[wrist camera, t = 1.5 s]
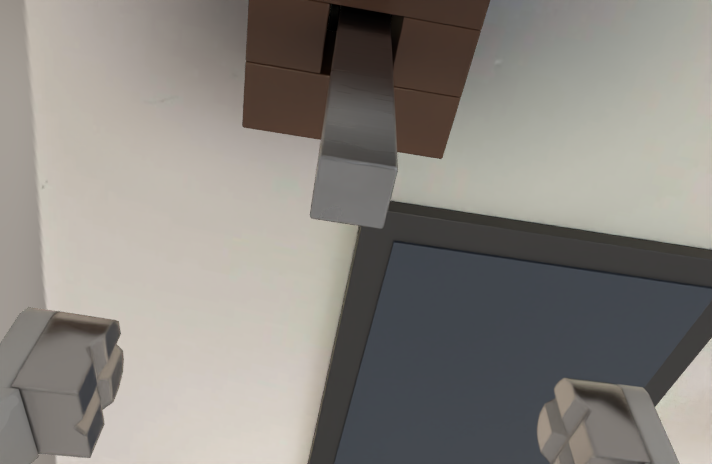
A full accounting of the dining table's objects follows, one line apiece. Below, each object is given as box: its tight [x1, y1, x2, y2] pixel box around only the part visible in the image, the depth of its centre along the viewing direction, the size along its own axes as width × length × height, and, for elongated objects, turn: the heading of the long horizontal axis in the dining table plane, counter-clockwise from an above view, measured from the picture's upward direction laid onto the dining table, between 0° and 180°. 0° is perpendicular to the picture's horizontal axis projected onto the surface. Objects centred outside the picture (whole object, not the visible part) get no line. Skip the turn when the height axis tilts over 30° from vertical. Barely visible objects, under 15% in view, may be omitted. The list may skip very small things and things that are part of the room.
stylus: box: [310, 5, 398, 229], centre depth 21 cm, size 2×2×15 cm
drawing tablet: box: [308, 201, 712, 464], centre depth 46 cm, size 40×24×1 cm, turn 170°
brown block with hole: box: [242, 0, 490, 159], centre depth 25 cm, size 9×9×5 cm
